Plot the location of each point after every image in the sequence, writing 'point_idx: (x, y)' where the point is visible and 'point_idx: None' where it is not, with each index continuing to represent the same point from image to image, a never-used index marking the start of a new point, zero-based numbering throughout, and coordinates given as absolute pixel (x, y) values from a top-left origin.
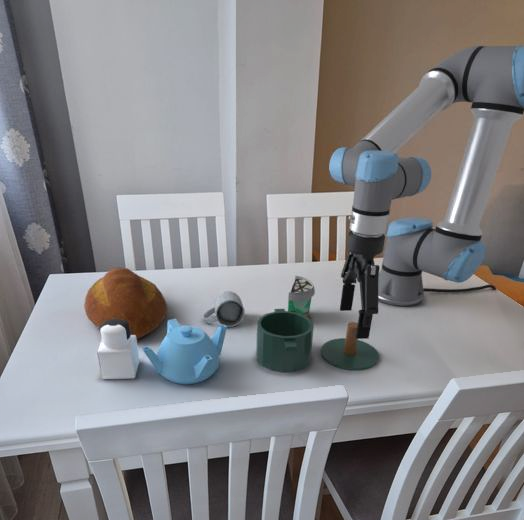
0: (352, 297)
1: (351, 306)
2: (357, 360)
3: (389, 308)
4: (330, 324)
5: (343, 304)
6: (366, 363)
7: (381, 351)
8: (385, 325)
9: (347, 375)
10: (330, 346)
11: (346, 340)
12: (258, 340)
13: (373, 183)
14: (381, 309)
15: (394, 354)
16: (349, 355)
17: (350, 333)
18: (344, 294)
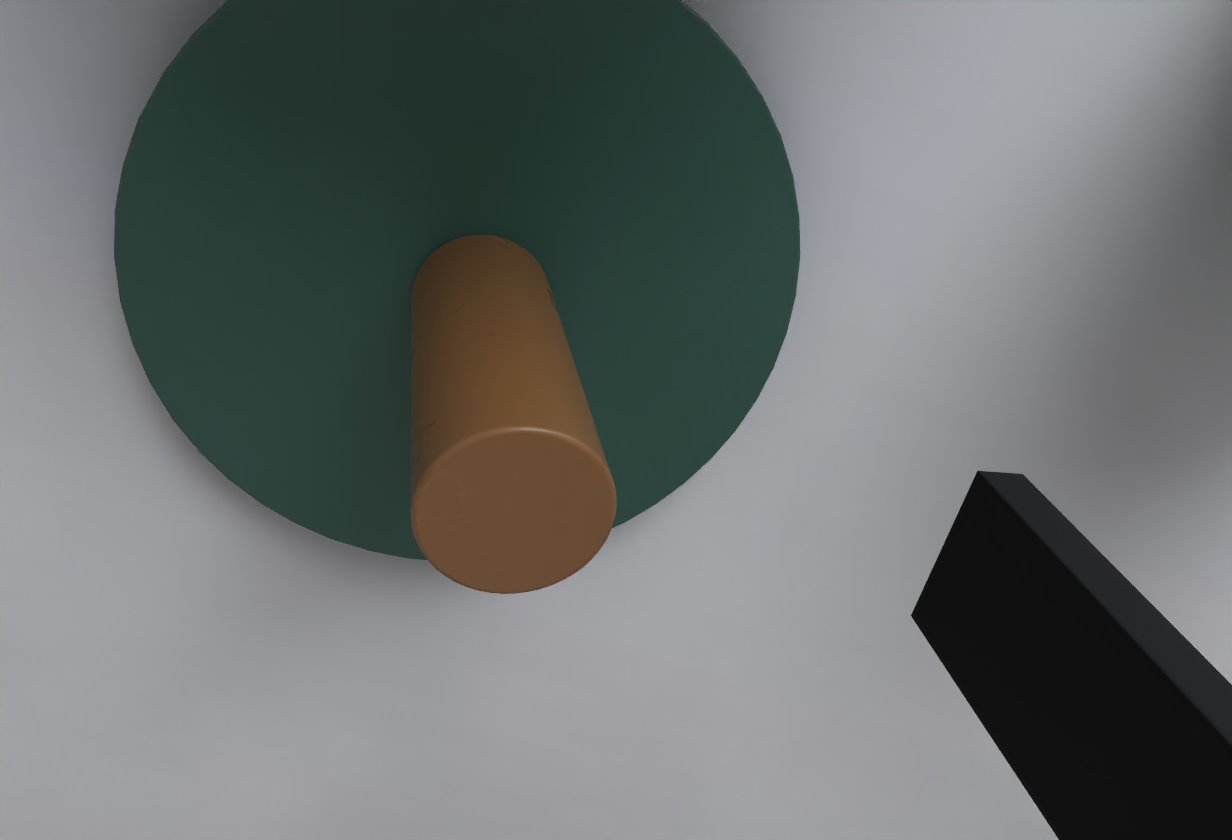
0: (1044, 797)
1: (950, 660)
2: (293, 318)
3: None
4: (1117, 328)
5: (1028, 576)
6: (217, 388)
7: None
8: (876, 735)
9: (68, 96)
10: (663, 125)
11: (482, 307)
12: None
13: None
14: None
15: (434, 668)
16: (413, 270)
17: (440, 395)
18: (1173, 731)
